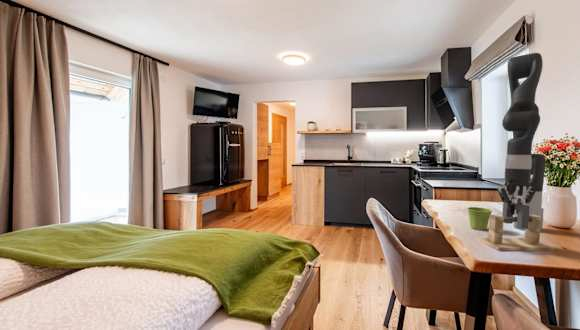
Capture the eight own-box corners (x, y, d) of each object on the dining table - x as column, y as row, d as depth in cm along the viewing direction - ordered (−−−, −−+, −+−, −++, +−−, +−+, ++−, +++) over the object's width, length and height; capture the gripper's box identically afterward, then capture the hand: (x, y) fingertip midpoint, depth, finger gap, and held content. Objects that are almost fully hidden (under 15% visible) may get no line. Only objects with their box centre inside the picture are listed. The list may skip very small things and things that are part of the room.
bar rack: (527, 240, 116) (528, 212, 115) (553, 250, 105) (555, 219, 104) (476, 240, 115) (478, 212, 114) (497, 250, 104) (499, 219, 103)
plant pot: (495, 232, 126) (496, 212, 126) (470, 230, 128) (471, 210, 128) (485, 226, 135) (486, 207, 135) (462, 225, 137) (463, 206, 137)
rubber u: (508, 222, 114) (509, 201, 113) (528, 228, 105) (529, 206, 104) (502, 222, 114) (503, 201, 113) (521, 228, 105) (522, 206, 104)
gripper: (527, 166, 112) (525, 212, 113) (491, 166, 111) (489, 212, 113) (545, 168, 104) (542, 216, 106) (507, 167, 104) (504, 216, 105)
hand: (515, 214), depth 109 cm, fingers closed on rubber u, 2 cm apart
